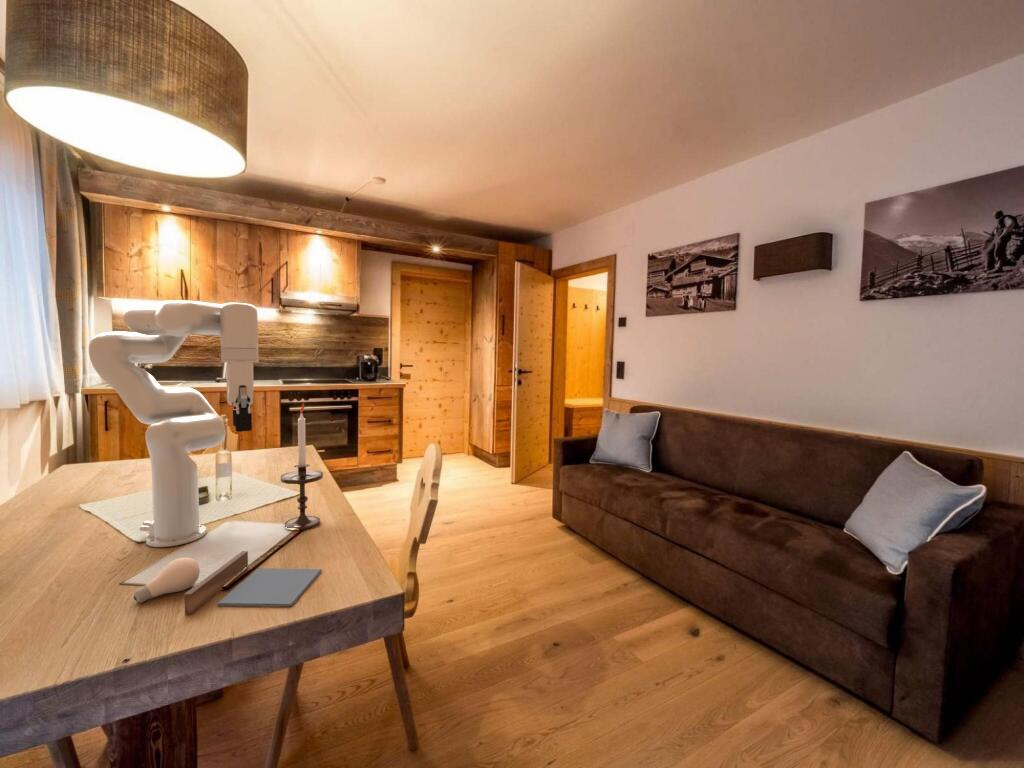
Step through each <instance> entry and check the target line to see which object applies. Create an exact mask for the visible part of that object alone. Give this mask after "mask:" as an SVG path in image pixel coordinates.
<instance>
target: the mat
mask: <svg viewBox="0 0 1024 768" xmlns="http://www.w3.org/2000/svg"><path fill="white" fill-rule="evenodd" d="M321 573H322V568H285V567H284V568H283V567H282V568H276V567H275V568H273V567H272V568H271V567H265V568H264V567H258V568H257V569H255V571H253V572H252V573H251V574H250V575H249V576H247V577H246V578H245V579H244V580H243V581H242V582H241V583H239V584H238V585H237V586H236V587H234V588H233V589H232V590H231V591H230V592H229V593H227V595H225V596H224V597H222V599H221V600H219V601H218V602H217V607H264V608H267V607H269V608H271V607H275V608H276V607H277V608H281V607H280V606H288V607H287V608H290V607H289V606H291V607H292V606H294V604H295V603H296V602H297V601H298V599H299V598H300V597H301V596H302V595H303V594H304V592H305V591H306V590H307V589H308V588H309V586H310V585H311V584H312V583H313V582H314V581H315V580H316V579H317V577H318V576H319V575H320V574H321ZM295 601H296V602H295ZM294 602H295V603H294Z"/></svg>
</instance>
